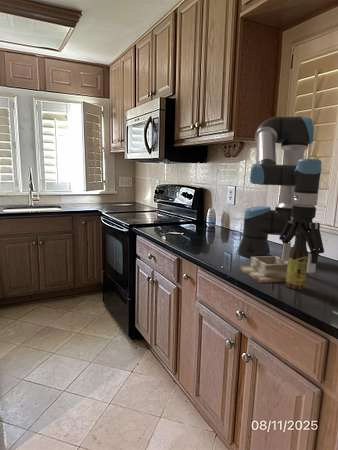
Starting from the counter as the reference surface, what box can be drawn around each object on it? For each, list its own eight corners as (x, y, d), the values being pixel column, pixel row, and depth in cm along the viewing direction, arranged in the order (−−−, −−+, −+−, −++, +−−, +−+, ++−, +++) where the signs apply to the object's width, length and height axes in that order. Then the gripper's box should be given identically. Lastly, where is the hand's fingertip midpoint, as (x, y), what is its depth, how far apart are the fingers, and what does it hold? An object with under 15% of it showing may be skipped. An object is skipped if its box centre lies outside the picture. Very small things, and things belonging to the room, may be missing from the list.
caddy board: (239, 268, 130) (240, 255, 129) (277, 267, 134) (279, 254, 133) (260, 282, 114) (262, 267, 113) (302, 280, 119) (304, 265, 118)
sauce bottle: (297, 291, 107) (304, 234, 104) (281, 286, 112) (287, 231, 108) (308, 288, 111) (315, 232, 107) (292, 282, 116) (298, 229, 112)
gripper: (273, 201, 117) (267, 256, 121) (321, 210, 93) (313, 278, 97) (290, 201, 119) (284, 255, 123) (342, 210, 95) (333, 277, 99)
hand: (297, 266), depth 110 cm, fingers open, 13 cm apart
